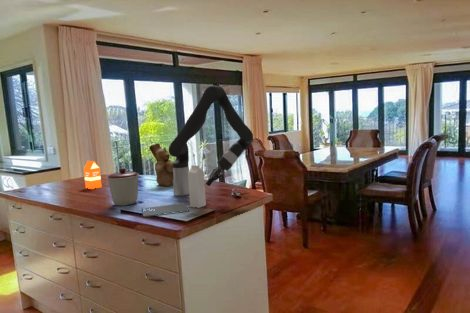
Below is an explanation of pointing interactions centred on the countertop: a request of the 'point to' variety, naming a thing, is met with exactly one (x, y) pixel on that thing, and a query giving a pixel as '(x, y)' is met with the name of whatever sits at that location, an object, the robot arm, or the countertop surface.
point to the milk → (196, 187)
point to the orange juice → (92, 175)
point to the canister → (123, 187)
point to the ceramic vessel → (162, 165)
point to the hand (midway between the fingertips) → (207, 184)
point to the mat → (165, 209)
